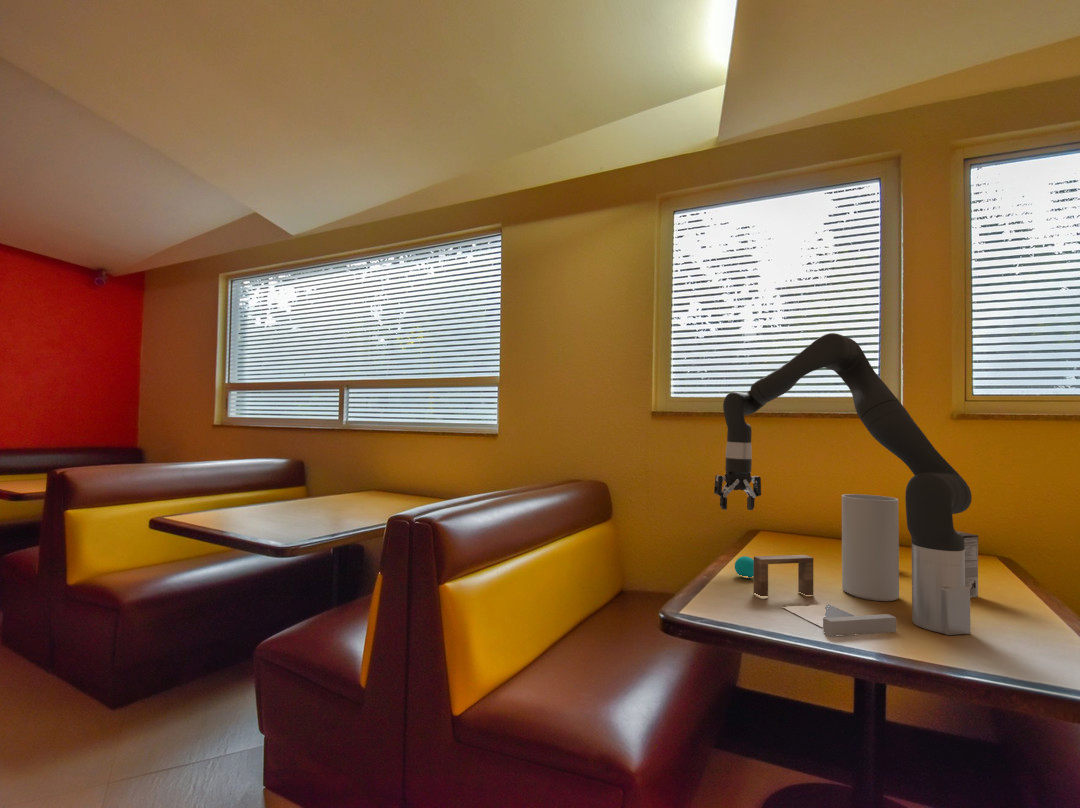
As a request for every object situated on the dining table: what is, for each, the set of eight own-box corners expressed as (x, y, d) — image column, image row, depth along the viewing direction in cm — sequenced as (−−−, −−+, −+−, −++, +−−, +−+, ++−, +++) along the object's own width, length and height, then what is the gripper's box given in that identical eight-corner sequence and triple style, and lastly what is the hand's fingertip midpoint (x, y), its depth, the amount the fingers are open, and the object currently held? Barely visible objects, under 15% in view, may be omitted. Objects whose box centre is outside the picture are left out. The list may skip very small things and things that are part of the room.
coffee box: (926, 588, 142) (925, 528, 143) (942, 586, 144) (941, 527, 145) (963, 599, 134) (962, 535, 134) (979, 597, 136) (978, 534, 137)
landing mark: (872, 624, 114) (872, 623, 114) (820, 627, 111) (820, 626, 111) (827, 604, 127) (827, 603, 127) (780, 607, 124) (780, 606, 124)
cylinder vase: (831, 590, 138) (831, 495, 140) (860, 584, 144) (860, 493, 145) (880, 605, 127) (880, 501, 129) (909, 598, 133) (908, 499, 134)
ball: (761, 580, 146) (761, 558, 146) (742, 581, 145) (742, 559, 145) (748, 574, 152) (749, 553, 152) (730, 575, 151) (730, 554, 151)
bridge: (813, 596, 133) (813, 557, 133) (760, 599, 130) (761, 559, 130) (805, 592, 136) (805, 554, 136) (753, 595, 133) (753, 556, 133)
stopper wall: (896, 631, 110) (896, 617, 110) (830, 636, 107) (830, 621, 107) (888, 628, 112) (887, 614, 112) (823, 632, 109) (823, 618, 109)
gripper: (722, 457, 157) (721, 511, 157) (767, 458, 159) (765, 512, 159) (711, 455, 164) (709, 507, 164) (753, 456, 166) (751, 507, 166)
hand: (737, 509), depth 161 cm, fingers open, 8 cm apart
